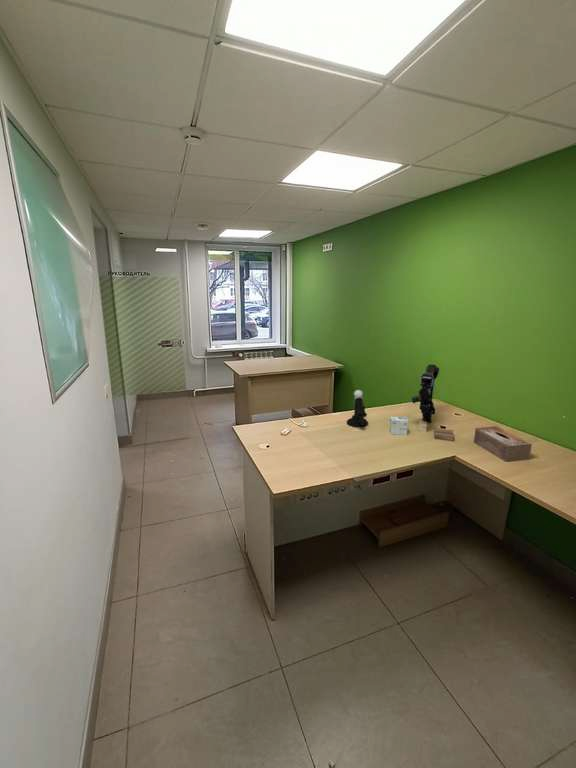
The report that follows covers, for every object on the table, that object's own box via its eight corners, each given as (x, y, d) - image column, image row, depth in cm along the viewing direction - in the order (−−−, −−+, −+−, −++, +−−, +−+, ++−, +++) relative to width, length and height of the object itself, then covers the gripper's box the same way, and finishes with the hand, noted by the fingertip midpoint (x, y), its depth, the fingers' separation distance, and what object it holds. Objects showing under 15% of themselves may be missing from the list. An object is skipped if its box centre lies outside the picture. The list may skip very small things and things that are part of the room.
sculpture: (365, 419, 249) (366, 387, 243) (373, 432, 226) (375, 397, 220) (344, 419, 249) (345, 387, 242) (351, 432, 226) (352, 397, 219)
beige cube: (418, 428, 231) (419, 420, 229) (426, 429, 229) (426, 421, 227) (418, 431, 226) (418, 423, 225) (426, 432, 225) (426, 424, 223)
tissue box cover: (473, 442, 209) (475, 428, 206) (493, 440, 211) (496, 426, 209) (506, 462, 184) (508, 446, 182) (528, 460, 187) (531, 443, 184)
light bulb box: (404, 431, 227) (406, 416, 224) (407, 435, 220) (408, 420, 218) (388, 431, 228) (389, 416, 225) (390, 435, 222) (391, 419, 219)
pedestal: (434, 432, 225) (434, 428, 224) (452, 434, 221) (452, 430, 220) (434, 438, 215) (434, 434, 214) (453, 441, 211) (453, 437, 210)
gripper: (413, 388, 232) (411, 409, 236) (412, 395, 215) (410, 418, 219) (430, 389, 228) (428, 411, 232) (431, 397, 211) (428, 420, 215)
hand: (423, 415), depth 225 cm, fingers open, 9 cm apart
